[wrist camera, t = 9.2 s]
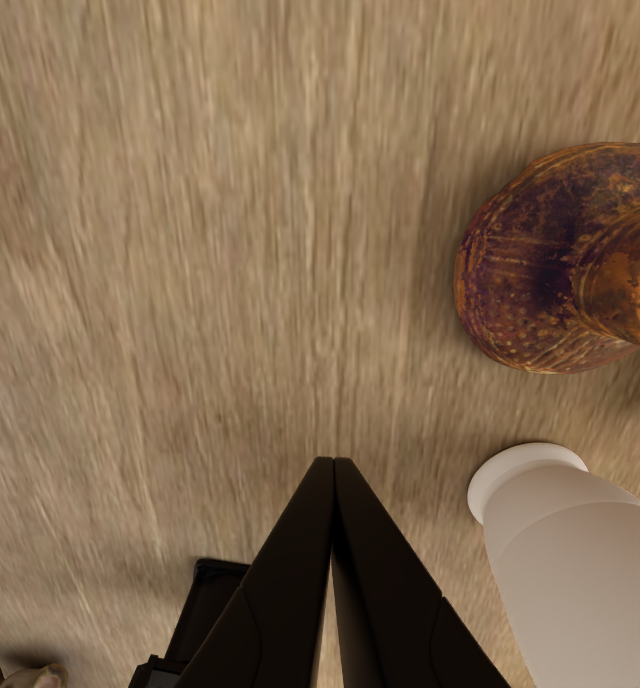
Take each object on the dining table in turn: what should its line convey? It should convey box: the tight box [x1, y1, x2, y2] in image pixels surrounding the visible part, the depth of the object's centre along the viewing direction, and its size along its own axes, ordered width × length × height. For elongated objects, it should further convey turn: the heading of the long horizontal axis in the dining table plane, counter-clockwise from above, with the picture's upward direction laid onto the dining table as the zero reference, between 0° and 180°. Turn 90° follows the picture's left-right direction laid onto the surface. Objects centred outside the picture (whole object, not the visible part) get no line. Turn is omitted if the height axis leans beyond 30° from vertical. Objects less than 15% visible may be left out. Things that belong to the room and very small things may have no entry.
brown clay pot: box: [453, 142, 640, 374], centre depth 13 cm, size 12×12×7 cm
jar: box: [467, 442, 640, 688], centre depth 15 cm, size 11×10×15 cm
